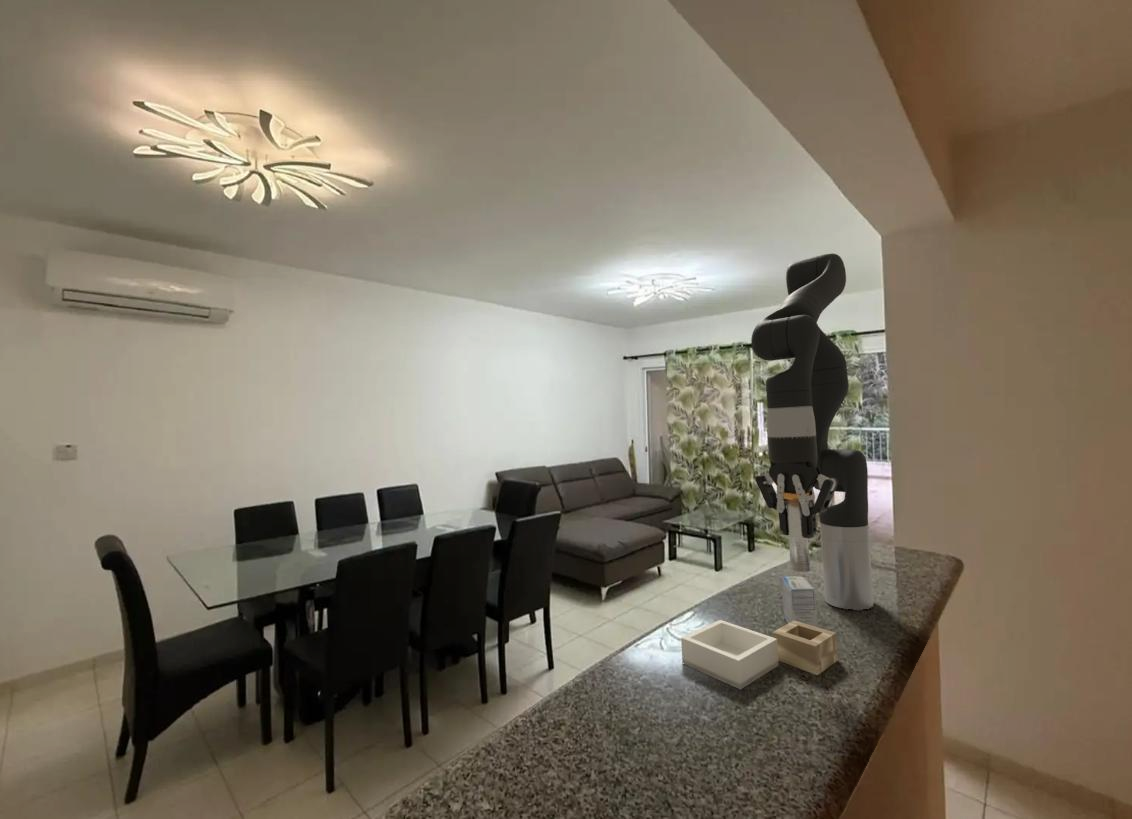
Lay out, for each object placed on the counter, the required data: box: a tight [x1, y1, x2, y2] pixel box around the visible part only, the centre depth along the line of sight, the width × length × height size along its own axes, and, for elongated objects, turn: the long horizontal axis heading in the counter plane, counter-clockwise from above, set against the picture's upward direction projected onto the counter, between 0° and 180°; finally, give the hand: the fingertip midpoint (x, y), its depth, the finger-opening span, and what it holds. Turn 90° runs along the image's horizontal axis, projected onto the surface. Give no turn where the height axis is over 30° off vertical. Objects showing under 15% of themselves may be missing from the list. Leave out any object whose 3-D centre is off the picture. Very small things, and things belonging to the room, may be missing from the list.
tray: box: [680, 619, 780, 691], centre depth 81 cm, size 11×11×4 cm
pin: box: [782, 492, 811, 573], centre depth 82 cm, size 4×4×13 cm
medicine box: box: [781, 575, 819, 628], centre depth 94 cm, size 8×4×9 cm, turn 168°
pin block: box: [772, 621, 839, 676], centre depth 81 cm, size 7×7×4 cm
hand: (798, 535), depth 82 cm, fingers closed on pin, 3 cm apart
